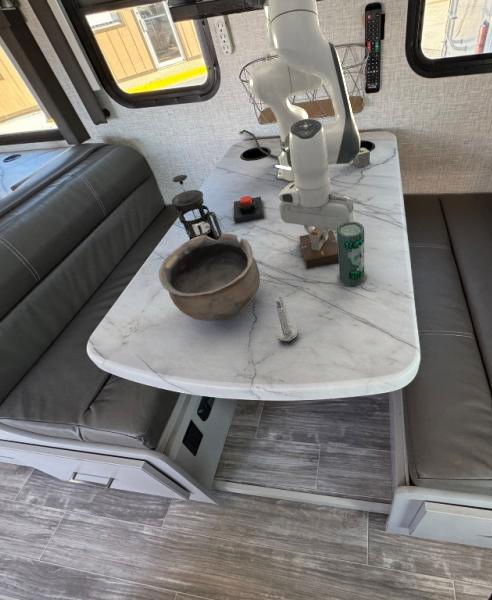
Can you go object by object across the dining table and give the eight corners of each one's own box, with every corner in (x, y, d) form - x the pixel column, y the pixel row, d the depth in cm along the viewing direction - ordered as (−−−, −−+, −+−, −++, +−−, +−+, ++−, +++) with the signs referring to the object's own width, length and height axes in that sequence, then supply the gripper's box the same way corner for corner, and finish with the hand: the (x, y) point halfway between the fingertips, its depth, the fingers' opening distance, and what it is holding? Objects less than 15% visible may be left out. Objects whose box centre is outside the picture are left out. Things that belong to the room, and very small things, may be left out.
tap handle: (320, 237, 98) (318, 222, 94) (327, 238, 97) (325, 223, 93) (311, 249, 94) (309, 234, 90) (318, 251, 93) (317, 235, 89)
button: (241, 201, 118) (239, 197, 117) (252, 199, 118) (251, 195, 117) (241, 207, 115) (239, 202, 114) (252, 205, 115) (251, 200, 114)
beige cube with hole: (358, 167, 134) (358, 154, 130) (352, 163, 137) (352, 150, 133) (369, 164, 134) (369, 151, 131) (363, 159, 138) (363, 147, 134)
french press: (185, 254, 105) (153, 185, 89) (197, 236, 112) (169, 170, 96) (219, 255, 103) (193, 184, 87) (229, 237, 109) (207, 168, 93)
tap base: (300, 244, 102) (298, 235, 99) (333, 237, 102) (332, 229, 100) (306, 268, 93) (305, 259, 91) (342, 261, 93) (341, 252, 91)
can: (358, 287, 85) (357, 238, 75) (336, 281, 88) (332, 233, 77) (367, 272, 89) (367, 224, 78) (346, 267, 91) (343, 219, 81)
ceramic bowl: (277, 279, 91) (265, 233, 81) (250, 342, 77) (233, 296, 66) (204, 274, 97) (185, 231, 86) (167, 333, 82) (138, 289, 72)
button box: (235, 206, 123) (232, 196, 120) (261, 201, 123) (259, 191, 121) (235, 223, 115) (232, 213, 112) (264, 218, 115) (261, 208, 112)
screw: (280, 348, 75) (276, 332, 78) (301, 343, 75) (296, 327, 78) (268, 308, 65) (265, 292, 69) (292, 302, 66) (287, 287, 69)
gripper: (357, 190, 82) (357, 237, 92) (284, 183, 90) (292, 227, 100) (348, 203, 78) (350, 250, 88) (273, 194, 86) (282, 239, 96)
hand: (318, 238), depth 94 cm, fingers closed on tap handle, 2 cm apart
